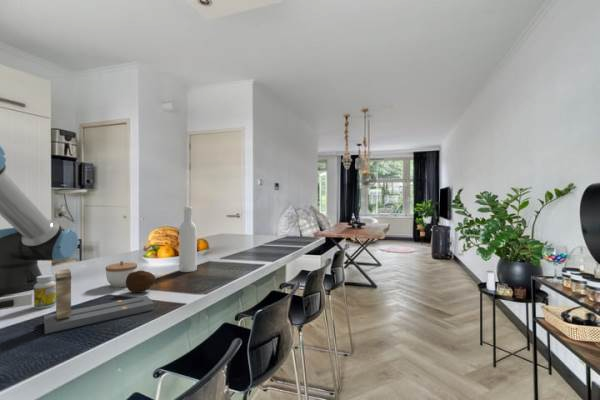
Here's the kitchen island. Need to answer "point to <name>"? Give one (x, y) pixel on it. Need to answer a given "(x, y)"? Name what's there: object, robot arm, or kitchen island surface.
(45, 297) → the supplement bottle
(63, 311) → the fader tab
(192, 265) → the bottle
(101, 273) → the kitchen island surface
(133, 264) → the lidded jar
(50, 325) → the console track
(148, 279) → the potato
